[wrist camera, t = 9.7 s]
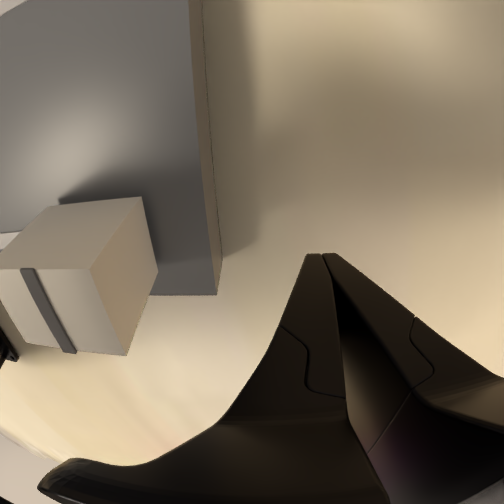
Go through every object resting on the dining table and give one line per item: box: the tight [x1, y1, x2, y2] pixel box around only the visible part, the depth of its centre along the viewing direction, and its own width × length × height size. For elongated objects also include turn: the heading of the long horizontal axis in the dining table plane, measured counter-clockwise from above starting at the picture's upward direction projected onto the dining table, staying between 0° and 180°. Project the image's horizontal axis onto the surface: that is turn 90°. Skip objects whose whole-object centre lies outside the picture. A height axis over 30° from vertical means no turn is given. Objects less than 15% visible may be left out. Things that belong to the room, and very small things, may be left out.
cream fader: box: [0, 196, 158, 356], centre depth 9 cm, size 3×4×4 cm
